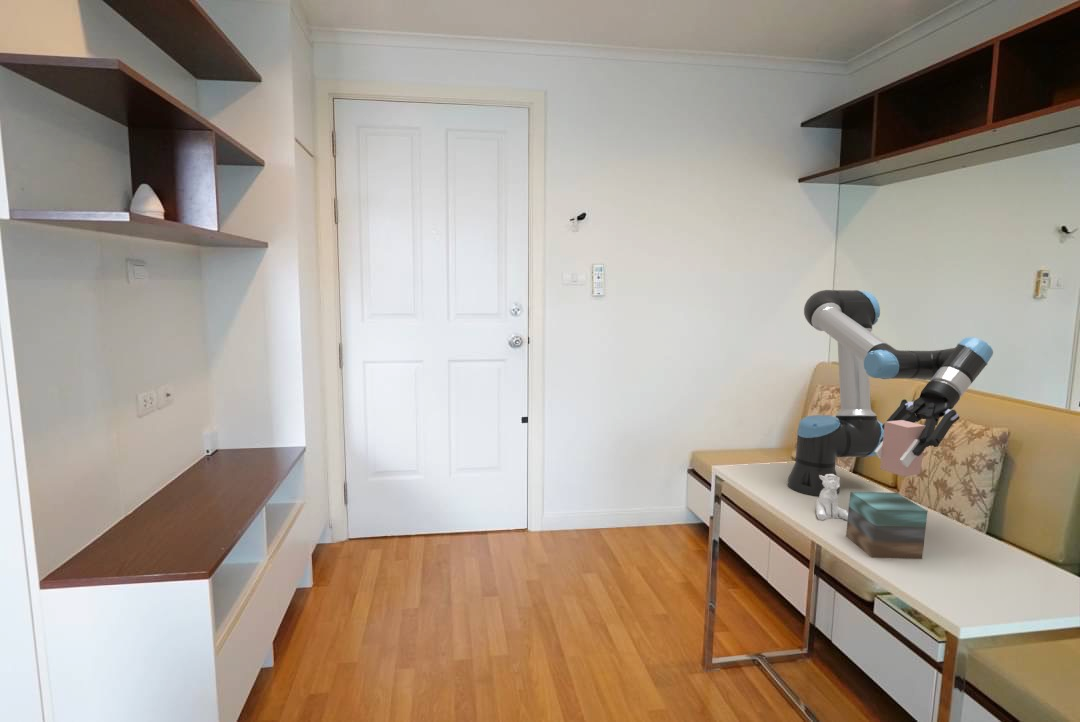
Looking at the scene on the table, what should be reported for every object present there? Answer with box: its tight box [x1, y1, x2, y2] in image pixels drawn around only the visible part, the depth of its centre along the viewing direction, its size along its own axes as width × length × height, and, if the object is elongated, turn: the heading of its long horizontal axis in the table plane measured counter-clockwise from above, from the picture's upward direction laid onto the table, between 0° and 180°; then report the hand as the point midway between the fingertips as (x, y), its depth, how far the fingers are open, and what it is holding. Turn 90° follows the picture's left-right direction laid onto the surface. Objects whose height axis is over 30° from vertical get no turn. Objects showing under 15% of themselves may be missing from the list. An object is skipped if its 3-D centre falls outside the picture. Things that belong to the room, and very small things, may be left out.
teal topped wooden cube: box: [845, 491, 928, 560], centre depth 143 cm, size 12×12×12 cm
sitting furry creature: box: [815, 474, 848, 521], centre depth 163 cm, size 10×9×12 cm
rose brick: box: [879, 420, 926, 477], centre depth 140 cm, size 6×6×12 cm
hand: (890, 459), depth 139 cm, fingers closed on rose brick, 6 cm apart
